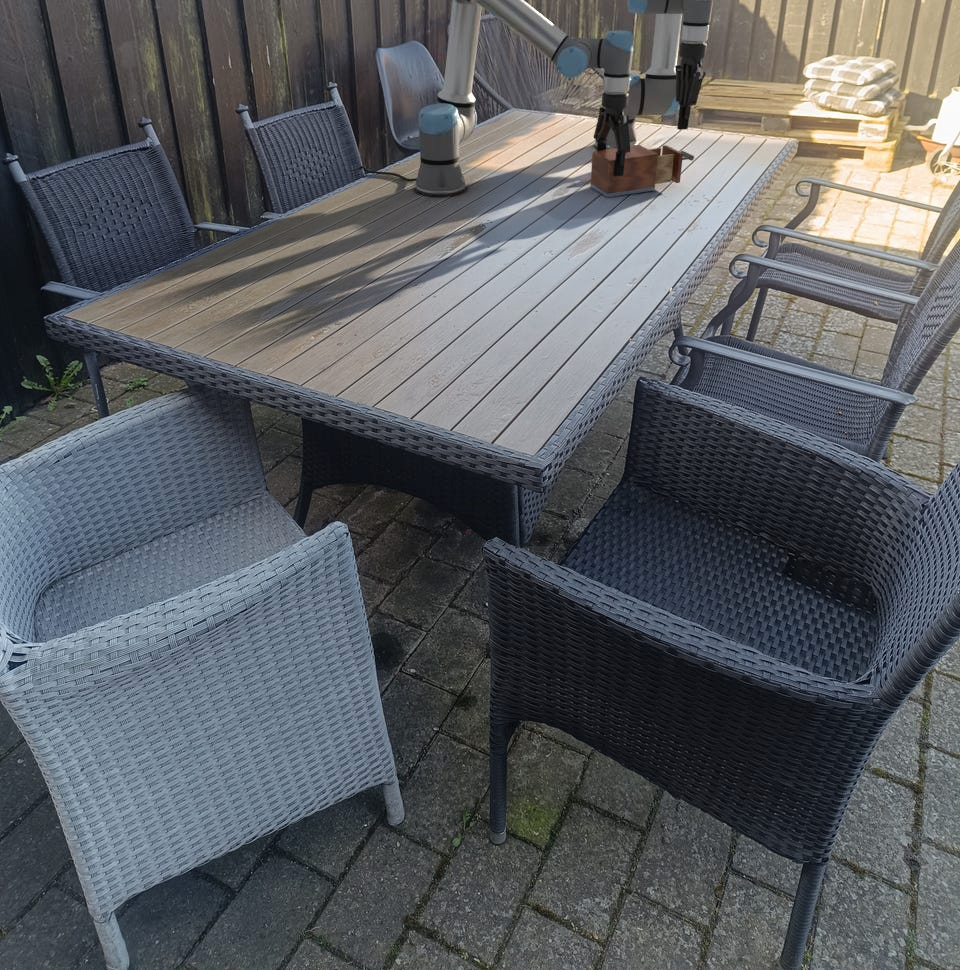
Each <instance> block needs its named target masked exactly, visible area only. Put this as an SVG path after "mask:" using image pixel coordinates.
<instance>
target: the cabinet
mask: <svg viewBox="0 0 960 970" xmlns="http://www.w3.org/2000/svg"><path fill="white" fill-rule="evenodd" d="M649 149H650V148H649ZM649 149H648V148H647V147H645V146H642V145H641V144H638V145H636V146H630V152H628V153H626V154H625V164H624V174H623V176H616V177H615V176H614V171H615V159H616V152H617V151H618V150H617V148H613V149H606V150H598V151H597V150H592V152H591V153H592V154H591V173H590V188H592V189H593V190H594V191H596V192H598V193H599V194H601V195H603V196H604V197H606V198H614V197H618V196H619V197H620V196H627V195H632V194H638V193H647V192H653V191H655V190H656V184H655V180H656V170H657V159H658V154H657V153H655V152H653V151H651V150H649Z"/></svg>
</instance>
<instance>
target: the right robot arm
mask: <svg viewBox="0 0 960 970" xmlns="http://www.w3.org/2000/svg"><path fill="white" fill-rule="evenodd" d="M626 2H627V3H626V4H627V11H628V13H630V14H637V15H655V21H654V31H653V39H652V51H651V61H650V67H649V68H648V69H647V70H646V71H645V77H643V78H641V75H640V73H637V72H631V74H630V79H631V80H630V84H629V91H628V92H627V93H628V94H629V98H628V106H627V107H626V108H624V109H623V115H624V116H626V115H628V116H629V138H630V146H636V145H639V138H638V133H637V127H636V117H637V116H661V117H664V116H673V115H675V114H676V113H677V112H678V119H677V127H676V128H677V130H679V131H683V130H688V129H689V122H690V116H691V109H692V107H693V106H696V105H697V102H698V100H699V95H700V91H701V88H702V84H703V80H704V78H705V77H706V71H703V70H702V59H703V58H705V57H706V55H707V53H706V52H707V47H708V44H707V41H708V39H709V31H710V25H711V19H712V10H713V5H714V0H627V1H626ZM680 40H681V42H680ZM678 56H679V57H680V58H681V59H680V63H679V64H678ZM603 92H605V91H603ZM598 134H599V133H598ZM606 140H607V142H606V149H613V148H617V145H616V140H615V135H614V131H612V127H611V129H610V131H609V133H608V136H607V138H606ZM603 143H605V142H603ZM594 147H595V148H597V142H596V139H594Z"/></svg>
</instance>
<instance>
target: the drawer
mask: <svg viewBox="0 0 960 970" xmlns="http://www.w3.org/2000/svg"><path fill="white" fill-rule="evenodd" d="M649 150H651V151H653V152H655V153H657V154H658V159H657V170H656V180H655V185H658V184H665V183H671V182H674V183H675V184H680V183H681V177H682V176H681V175H682V167H683V161H685V160H687V161H694V160H695V156H694V155H693V154H691V153H688V152H686V151H685V150H680V151H679V150H677V149H675V148H673V147H671V146H669V145H665V144H664V145H662V148H661V147H656V148H649Z"/></svg>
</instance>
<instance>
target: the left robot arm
mask: <svg viewBox="0 0 960 970" xmlns="http://www.w3.org/2000/svg"><path fill="white" fill-rule="evenodd" d="M482 9H484V10H486V11H487V12H488V13H489V14H490V15H492V16H493V17H494V18H496V19H497V20H498V21H500V22H501V23H502V24H503V25H504V26H506V27H507V28H508V29H509V30H511V31H512V32H514V34H515V35H517V36H519V37H520V38H521V39H523V40H524V41H525V42H526V43H527V44H528V45H530V46H531V47H532V48H534V49H535V50H536V51H538V52H539V53H540V54H541V55H543V56H544V57H545V58H547V60H549V61H550V62H551V63H552V64H554V65H555V66H556V67H557V69H558V72H559V73H560V74H561V76H563V77H565V78H568V79H573V78H576V77H579V76H581V75H582V74H583V73H584V72H585V71H586V70H587V69H600V70H601V69H603V70H604V71H603V79H602V91H603V92H602V94H601V106H600V107H599V111H598V117H597V122H596V126H595V129H594V134H593V139H594V140H595V139H596V142H597V147H596V151H598V150H606V142H607V140H606V138H607V136H608V133H609V131H610V129H611V127H612V131H614V135H615V140H616V145H617V150H618V151H617V152H616V159H615V171H614V176H615V177H616V176H623V174H624V164H625V154H626V153H628V152H630V138H629V116H628V115H626V116H624V115H623V109H624V108H626V107H627V106H628V98H629V94H628V93H627V92H628V91H629V84H630V80H631V79H630V74H631V73H632V65H633V64H632V63H633V54H634V34H633V32H631V31H629V30H623V29H619V30H616V29H615V30H609V31H607V33H606V36H605V38H593V37H592V38H591V37H580V36H575V37H570V36H569V35H568V34H567V33H565V32H564V31H563V30H562V29H561V28H560V27H558V26H557V25H555V24H554V23H553V22H552V21H550V20H549V19H548V18H547V17H546V16H544V15H543V14H542V13H541V12H539V11H538V10H536V8H534V7H533V6H532V5H530V4H529V3H528V2H526V0H452V1H451V10H450V21H449V30H448V40H447V49H446V60H445V70H444V77H443V87H442V89H441V90H439V92H437V98H436V103H432V104H428V105H425V106H424V107H422V108H421V109H420V111H419V113H418V122H417V124H418V136H419V138H418V139H419V157H420V158H419V159H420V161H419V162H420V164H419V168H418V172H417V176H416V177H415V178H409V177H408V178H407V177H406V176H403V175H402V174H400V173H399V174H398V173H396V172H389V171H377V170H370V169H368V168H366V167H365V166H364V165H360V166H359V167H358V168H357V170H358V171H360V170H362V169H363V170H364V171H365V172H367V173H369V174H374V173H376V175H389V176H395V177H398V178H400V179H401V180H404V181H407V182H415V185H414V186H415V192H417V193H418V194H420V195H424V196H430V197H450V196H455V195H459V194H461V193H463V192H464V191H466V180H465V177H464V175H463V172H462V169H461V165H460V144H461V143H462V142H464V141H466V140H467V139H469V138H470V136H471V135H472V134H473V132H474V130H475V129H476V126H477V122H478V116H477V115H478V114H477V111H476V109H475V107H476V98H475V96H474V94H473V92H472V91H473V83H474V74H475V66H476V58H477V51H478V42H479V34H480V28H481V17H482ZM604 91H605V92H604ZM598 133H599V134H598ZM603 142H605V143H603Z"/></svg>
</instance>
